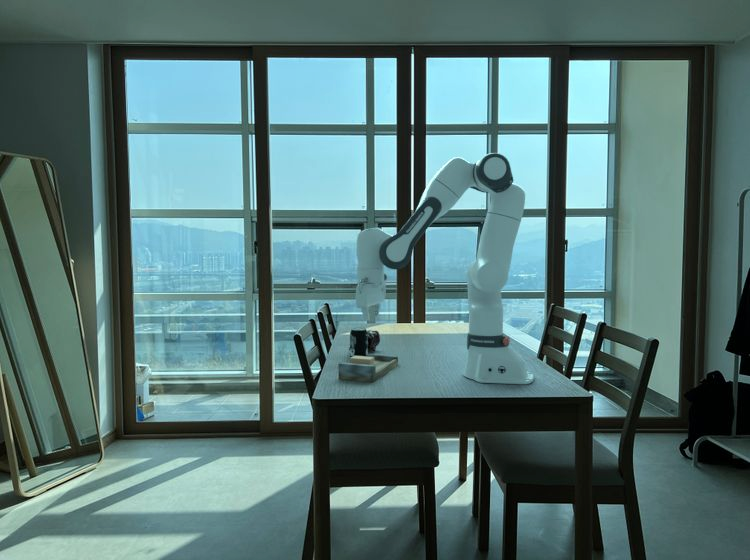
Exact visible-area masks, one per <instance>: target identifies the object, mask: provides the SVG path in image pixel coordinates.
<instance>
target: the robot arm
mask: <svg viewBox="0 0 750 560" xmlns="http://www.w3.org/2000/svg"><path fill="white" fill-rule="evenodd" d="M469 189H473V190H475V191H478V192H480V193H485V194H488V193H489V197H490V202H489V206H488V209H487V213H486V215H485V219H484V222H483V226H482V230H481V233H480V235H479V236H480V237H479V243H478V249H477V252H476V253H477V254H476V258H475V260H472V262H471V263H470V264H469V265H468V268H467V271H466V277H467V279H466V283H467V299H468V302H467V303H468V332H467V334H466V349H467V357H466V360H465V361H466V362H465V367H464V370H463V373H462V375H463V377H465V378H468V379H470V380H473V381H476V382H477V383H482V384H483V383H486V384H487V383H488V384H506V385H508V384H509V385H529V384H531V383H532V382H533V381H534V380H535V378H534V376H535V375H534V374H533V373H532V372H530V371H528V369H527V368H528V367H527V364H526V360H525V358H524V357H523V356H522V355H521V354H519V353H518V352H517V351H516V350H514V349H513V348H512V347H511V346H510V343H511V342H510V341H511V340H510V336H509V335H506V334H505V333H504V308H503V301H502V300H503V299H502V290H503V289H504V288H505V286H506V285H507V282H508V281H509V273H510V269H511V263H512V257H513V251H514V246H515V242H516V238H517V236H518V233H519V232H518V231H519V229H520V225H521V222H522V218H523V215H524V210H525V204H526V191H525V190H524V188H523V187H521V186H520V185H518V184H516V183H514V176H513V172H512V167H511V164H510V161H509V160H508V158H507V157H506V156H505V155H503V154H501V153H498V152H490V153H489V152H488V153H487V154H484V155H483V156H481V158H480V159H479V160H477V162H473V163H471V162H469V161H468V160H466V159H464V158H463V157H457V156H455V157H453V158H451V159H450V160H449V161H448V162H446V163H445V164H444V165H443V166H442V167H441V168H440V169H439V170H438V171H437V172H436V173H435V174H434V176H433V177H432V179H430V181H429V183H428V184H427V186H426V187H425V189H424V191H423V192H422V194H421V197H420V199H419V203H418V205H417V207H416V209H415V211H414V213H413V214H412V215H411V216H410V218H409V219H408V220H407V221H406V223H405V224H404V225H403V226H402V228H401V229H400V230H399V231H398V232H397V233H396V234H394V235H393V234H390V233H388V232H386V231H384V230H382V229H381V228H380V227H371V228H367V229H363V230H361V231H359V233H358V235H357V238H356V258H357V266H356V274H357V275H356V280H357V283H358V284H357V285H356V287H355V307H356V308H357V309H361V313H362V316H363V318H362V320H363V321H364V322H368V321H370V319H371V315H370V312H369V310H370V307H373V311H372V317H374V318H377V317H379V316H380V310H381V303H384V302H385V300H386V297H387V295H386V294H387V293H386V292H387V284H386V282H387V281H388V275H387V273H385V271H384V267H386V268H387V269H391V270H400V269H401V270H402V269H403V268H405V267H406V266H407V265H408V264H409V263H410V261H411V259H412V255H413V251H414V248H415V246H416V244H417V242H418V241H419V240H420V238H421V237H422V236H423V235H424V234H425V232H427V230H428V228H429V227H430V226H431V225H432V224H433V223H434V222H435V221H437V220H438V219H439V218H441V217H442V216H444V215H446V213H448V212H449V211H450V210H451V209H452V208H453V207H454V206H456V204H457V203H458V201H459V200H460V199H461V198H462V196H464V194H465V193H466V192H467V190H469Z"/></svg>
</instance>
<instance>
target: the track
mask: <svg viewBox="0 0 750 560" xmlns="http://www.w3.org/2000/svg"><path fill="white" fill-rule="evenodd" d="M366 357H374V365H367V364H355V363H350V362H343V361H341V362H339V363H338V380H344V381H345V380H347V381H348V380H349V381H358V382H365V383H374V382H376V381H378V379H381V377H383V376H384V375H386V374H387V373H388V372H390V371H392V369H395V367H397V366H398V365H399V356H397V355H386V354H370V353H368V354H366Z"/></svg>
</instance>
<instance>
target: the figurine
mask: <svg viewBox="0 0 750 560" xmlns="http://www.w3.org/2000/svg"><path fill="white" fill-rule="evenodd" d="M366 331H367V332H368V351H372V352H374V353H376V349H377V346H379V345H380V342H381V337H380V336H381V335H380V332H379V331H378V330H373V329H369V330H366ZM348 350H349V351H350V347H348Z"/></svg>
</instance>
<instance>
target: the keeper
mask: <svg viewBox="0 0 750 560" xmlns="http://www.w3.org/2000/svg"><path fill="white" fill-rule="evenodd" d="M349 363H355V364H367V365H374V357H366V356H353V357H351V358H350V357H349Z"/></svg>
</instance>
